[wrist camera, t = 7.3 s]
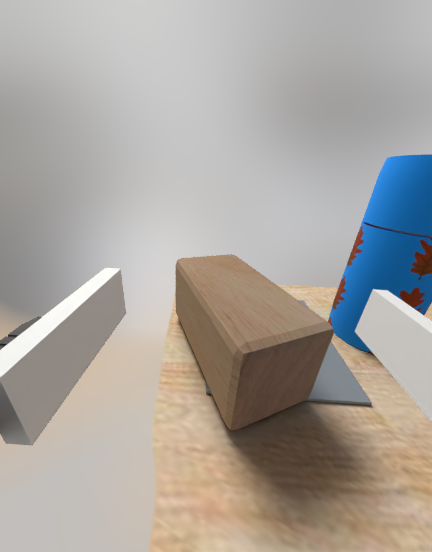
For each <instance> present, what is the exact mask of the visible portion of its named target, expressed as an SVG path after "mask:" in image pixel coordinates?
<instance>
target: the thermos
mask: <svg viewBox="0 0 432 552" xmlns="http://www.w3.org/2000/svg"><path fill="white" fill-rule="evenodd" d="M373 289H376V290H388V291H389V292H391V293H392V294H393V295H395V296H396V297H398V298H399V299H401V300H402V301H404V302H405V303H406V304H408V305H409V306H411V307H412V308H414V309H415V310H417V311H418V312H419V313H421V314H422V315H425V313H426V311H427V309H428V308H429V306H430V304H431V303H432V155H408V156H395V157H390V158H387V159H386V161H385V163H384V165H383V167H382V169H381V171H380V173H379V176H378V179H377V182H376V184H375V187H374V190H373V193H372V196H371V198H370V201H369V204H368V207H367V210H366V212H365V215H364V218H363V221H362V224H361V227H360V230H359V232H358V235H357V238H356V241H355V244H354V246H353V249H352V252H351V255H350V257H349V260H348V263H347V266H346V269H345V272H344V274H343V277H342V280H341V283H340V285H339V288H338V291H337V294H336V297H335V299H334V302H333V306H332V309H331V313H330V316H329V320H328V323H330V325H331V326H332V328H333V332H334V333H335V334H336V335H337V336H338V337H339V338H341V339H342V340H344V341H345V342H346V343H348V344H350V345H352V346H354V347H356V348H358V349H360V350H363V351H366V352H369V353H372V351H371V350H370V349H369V348H368V347H367V346H366V344H365V343H364V342H363V341H362V340H361V338H360V337H359V336H358V335H357V334H356V333H355V329H356V327H357V325H358V322H359V320H360V318H361V316H362V313H363V311H364V309H365V306H366V304H367V302H368V299H369V297H370V295H371V293H372V290H373ZM372 354H373V353H372Z"/></svg>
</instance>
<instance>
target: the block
mask: <svg viewBox="0 0 432 552" xmlns="http://www.w3.org/2000/svg"><path fill="white" fill-rule="evenodd" d="M176 313H177V315H178V318H179V320H180V322H181V324H182V327H183V329H184V331H185V334H186V336H187V338H188V340H189V343H190V345H191V347H192V350H193V352H194V354H195V356H196V359H197V361H198V363H199V366H200V368H201V370H202V372H203V375H204V377H205V379H206V382H207V384H208V386H209V388H210V391H211V393H212V395H213V398H214V400H215V402H216V404H217V407H218V409H219V411H220V414H221V416H222V418H223V420H224V422H225V424H226V426H227V427H228V428H229V429H230V430H238V429H240V428H243V427H245V426H247V425H250V424H252V423H254V422H257V421H259V420H261V419H263V418H266V417H268V416H270V415H273V414H275V413H277V412H279V411H282V410H284V409H286V408H289V407H291V406H293V405H295V404H298V403H300V402H302V401H304V400H306V399H308V397H309V396H310V394H311V391H312V389H313V386H314V383H315V381H316V378H317V376H318V373H319V370H320V368H321V365H322V363H323V360H324V357H325V355H326V352H327V350H328V347H329V344H330V342H331V339H332V337H333V328H332V326H331V325H330V323H328V322H327V321H326V320H324V319H323V318H321V317H320V316H319V315H317V314H316V313H315V312H313V311H312V310H310V309H309V308H308V307H306V306H305V305H303V304H302V303H301V302H299V301H298V300H296V299H295V298H294V297H292V296H291V295H289V294H288V293H287V292H285V291H284V290H283V289H281V288H280V287H278V286H277V285H276V284H274V283H273V282H271V281H270V280H268V279H267V278H266V277H264V276H263V275H262V274H260V273H259V272H257V271H256V270H255V269H253V268H252V267H250V266H249V265H248V264H246V263H245V262H244V261H242V260H241V259H239V258H238V257H237V256H235V255H220V256H207V257H193V258H182V259H179V260H177V263H176Z"/></svg>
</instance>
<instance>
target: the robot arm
mask: <svg viewBox="0 0 432 552" xmlns="http://www.w3.org/2000/svg"><path fill="white" fill-rule="evenodd" d="M125 314H126V309H125V301H124V293H123V285H122V277H121V270H120V269H114V268H105V269H104V270H102V271H101V272H100V273H98V274H97V275H96V276H95V277H93V278H92V279H91V280H89V281H88V282H87V283H86V284H84V285H83V286H82V287H80V288H79V289H78V290H77V291H75V292H74V293H73V294H72V295H70V296H69V297H68V298H66V299H65V300H64V301H63V302H61V303H60V304H59V305H57V306H56V307H55V308H53V309H52V310H51V311H50V312H48V313H47V314H46V315H44V316H43V317H37V318H35V319H33V320H31V321H29V322H26V323H24V324H22V325H21V326H19V327H18V328H17V329H15V330H14V331H13V332H11V333H10V334H8V337H4V338H3V339H2V340H0V434H1V436H2V438H3V439H4V441H5V443H7V444H21V445H33V444H34V442H35V441H36V440H37V438H38V437H39V435H40V434H41V433H42V431H43V429H44V428H45V427H46V425H47V424H48V423H49V421H50V420H51V418H52V417H53V416H54V414H55V413H56V411H57V410H58V409H59V407H60V406H61V404H62V403H63V402H64V400H65V399H66V397H67V396H68V394H69V393H70V391H71V390H72V389H73V387H74V386H75V385H76V383H77V382H78V380H79V379H80V378H81V376H82V375H83V373H84V372H85V370H86V369H87V368H88V366H89V365H90V363H91V362H92V360H93V359H94V358H95V356H96V355H97V354H98V352H99V351H100V349H101V348H102V346H103V345H104V344H105V342H106V341H107V339H108V338H109V337H110V335H111V334H112V332H113V331H114V330H115V328H116V327H117V325H118V324H119V323H120V321H121V320H122V318H123V317H124V315H125ZM355 333H356V334H357V335H358V336H359V337H360V338H361V340H362V341H363V342H364V343H365V344H366V346H367V347H368V348H369V349H370V350H371V351H372V353H373V354H374V355H375V356H376V357H377V358H378V360H379V361H380V362H381V363H382V364H383V366H384V367H385V368H386V369H387V370H388V371H389V373H390V374H391V375H392V376H393V377H394V378H395V380H396V381H397V382H398V383H399V384H400V385H401V387H402V388H403V389H404V390H405V391H406V393H407V394H408V395H409V396H410V397H411V398H412V400H413V401H414V402H415V403H416V404H417V405H418V407H419V408H420V409H421V410H422V411H423V413H424V414H425V415H426V416H427V417H428V418H429V420H430V421H431V422H432V321H431V320H430V319H428V318H427V317H425V316H424V315H422V314H421V313H419V312H418V311H417V310H415V309H414V308H412V307H411V306H409V305H408V304H406V303H405V302H404V301H402V300H401V299H399V298H398V297H396V296H395V295H393V294H392V293H391V292H389V291H388V290H376V289H373V290H372V293H371V295H370V297H369V299H368V302H367V304H366V306H365V309H364V311H363V313H362V316H361V318H360V320H359V322H358V325H357V327H356V329H355Z"/></svg>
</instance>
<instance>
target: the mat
mask: <svg viewBox="0 0 432 552" xmlns="http://www.w3.org/2000/svg"><path fill="white" fill-rule="evenodd" d="M299 302H301V303H302V304H303V305H305V306H306V307H308V306H307V305H306V303H305V302H304V301H299ZM206 394H212V393H211V391H210V388H209V386H208V384H207V388H206ZM304 401H318V402H333V403H347V404H362V405H371V403H372V402H371V401H370V399H369V398H368V396H367V395H366V393H365V392H364V390H363V389H362V387H361V386H360V384H359V383H358V381H357V380H356V378H355V377H354V375H353V374H352V372H351V371H350V369H349V368H348V366H347V365H346V363H345V362H344V360H343V359H342V357H341V356H340V354H339V353H338V351H337V350H336V348H335V347H334V345H333V344H332V342H330V344H329V347H328V350H327V352H326V355H325V357H324V360H323V363H322V365H321V368H320V370H319V373H318V376H317V378H316V381H315V383H314V386H313V389H312V391H311V394H310V396H309V397H308V399H306V400H304Z"/></svg>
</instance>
